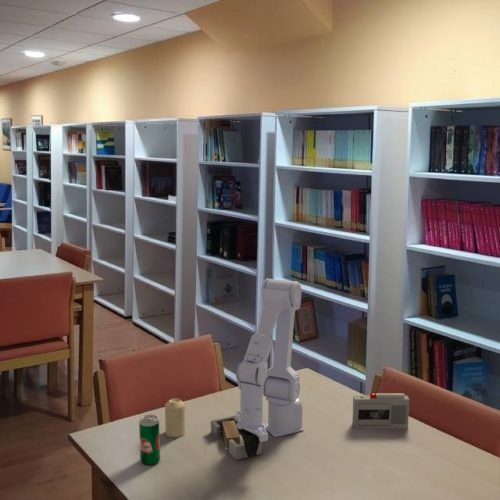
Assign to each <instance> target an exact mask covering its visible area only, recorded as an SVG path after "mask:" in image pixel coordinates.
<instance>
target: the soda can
mask: <svg viewBox="0 0 500 500" xmlns="http://www.w3.org/2000/svg"><path fill="white" fill-rule="evenodd" d="M139 420H140V421H139V422H138V429H139V431H138V432H139V461H140V463H141V464H142V465H144V466H148V467H150V466H151V467H152V466H156V465H157V464H158V463H159V462H160V460H161V449H160V448H161V447H160V446H161V445H160V443H161V440H160V420H159V419H158V416H156V415H155V414H146V415H143V416H141V417H140V419H139Z"/></svg>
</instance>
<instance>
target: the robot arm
mask: <svg viewBox="0 0 500 500" xmlns="http://www.w3.org/2000/svg"><path fill="white" fill-rule="evenodd" d="M260 291H261V299H262V303H263V307H262V311H261V316H260V319H259V325H258V329H257V332H256V333H254V334H252V335H251V337H250V340H249V343H248V346H247V349H246V352H245V355H244V357H243V360H242V361H240V362H239V363H238V364H237V367H236V373H235V379H236V381H237V385H238V386H237V388H238V389H239V390H240V393H239V394H240V395H239V396H240V398H239V400H240V408H239V409H240V411H239V410H238V411H236V413H235V416H236V419H237V420H239V423H237V424H236V427H237V428H238V429H239V432H240V434H239V435H240V436H241V438H242V441H243V444H244V445H245V449H246V453H247V455H248V456H249V457H248V458H251V457H255V456H257V455H256V453H257V450H258V446H259V443H260V442H262V443H263V442H267V441H269V434H271V436H273V437H274V438H277V437H283V436H287V435H290V434H295V433H299V432H303V431H304V428H303V405H302V401H301V400H300V399H299V396H300V393H301V384H300V374H299V373H298V372H297V371H296V370H294V368H292V366H291V364H292V363H291V362H292V352H293V342H294V341H293V339H294V327H295V316H296V314H295V313H296V311H297V310H300V309H301V304H302V286H301V284H300V282H299V281H297V280H296V281H295V280H294V281H291V280H284V279H283V280H282V279H274V278H273V279H272V278H270V277H268V278H266V279H264V281H263V283H262V285H261V290H260ZM275 326H276V327H275ZM274 328H276V329H275V338H274V341H275V342H274V351H273V352H274V353H273V364H272V366H271V367H270V368H268V364H269V363H268V359H269V356H270V352H271V350H272V346H273V340H272V337H271V335H272V333H273V330H274ZM264 397H265V401H267V403H268V404H267V406H268V407H267V413H268V414H267V422H266V423H264V421H263V420H264V419H263V416H264V415H263V412H264V411H263V407H264V406H263V405H264V404H263V403H264V402H263V401H264V400H263V398H264ZM268 432H269V433H268Z"/></svg>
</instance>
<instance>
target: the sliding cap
mask: <svg viewBox="0 0 500 500" xmlns="http://www.w3.org/2000/svg"><path fill="white" fill-rule="evenodd" d="M228 452H229V454H230V455H231V456H232V457H233V458H234V460H235V461H237V460H241V459H246V458H250V457H249V456H248V455H247V453H246V449H245V445H244V443H240V445H238V444H237V443H236V442H235V441H234V440H233V439H231V440H229V449H228ZM262 453H263V442H260V443H259V446H258V450H257V453H256V456H257V455H262Z"/></svg>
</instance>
